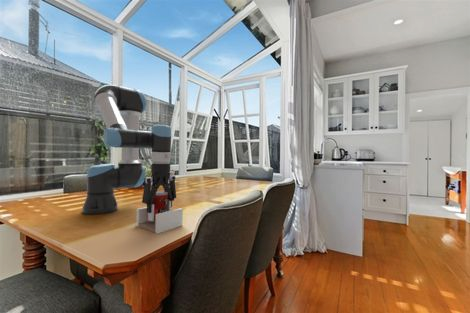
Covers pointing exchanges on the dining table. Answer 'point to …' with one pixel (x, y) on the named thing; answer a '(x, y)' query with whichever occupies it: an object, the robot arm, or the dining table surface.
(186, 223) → the dining table surface
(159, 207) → the canned food
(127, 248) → the dining table surface
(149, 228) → the holder
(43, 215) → the dining table surface
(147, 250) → the dining table surface
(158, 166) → the robot arm
